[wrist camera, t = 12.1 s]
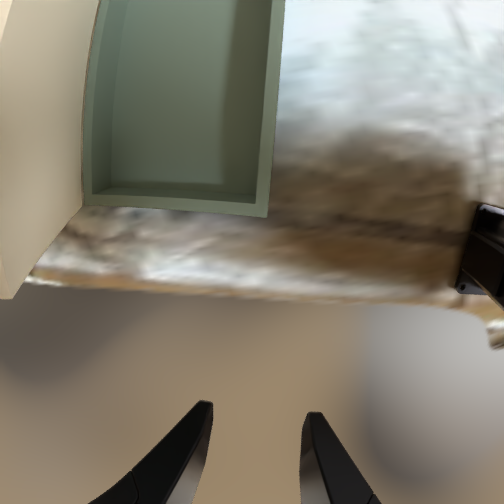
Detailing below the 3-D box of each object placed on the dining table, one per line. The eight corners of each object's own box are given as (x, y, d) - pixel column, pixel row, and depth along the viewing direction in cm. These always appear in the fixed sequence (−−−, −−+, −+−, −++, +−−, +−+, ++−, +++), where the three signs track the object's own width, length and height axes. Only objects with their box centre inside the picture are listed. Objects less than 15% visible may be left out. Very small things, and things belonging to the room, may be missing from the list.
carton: (290, -77, 9) (291, -100, 7) (268, 205, 17) (267, 217, 14) (144, -66, 10) (130, -84, 7) (108, 194, 17) (84, 204, 15)
